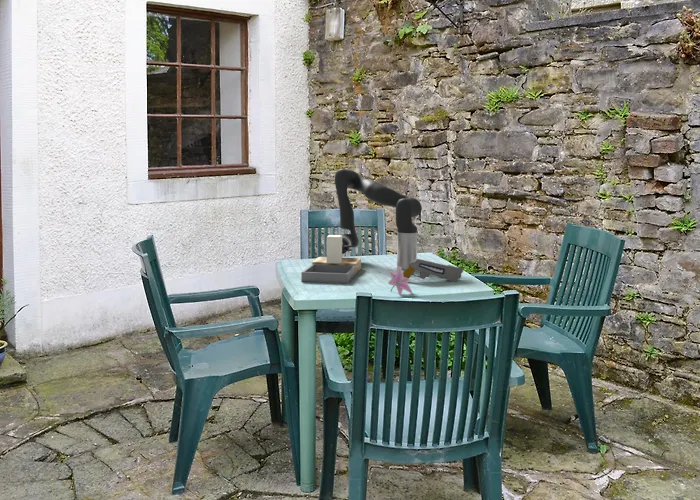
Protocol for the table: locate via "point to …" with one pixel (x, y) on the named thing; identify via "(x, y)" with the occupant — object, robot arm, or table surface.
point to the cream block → (334, 249)
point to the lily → (399, 281)
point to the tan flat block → (344, 262)
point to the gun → (433, 270)
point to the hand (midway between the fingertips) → (335, 250)
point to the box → (328, 273)
